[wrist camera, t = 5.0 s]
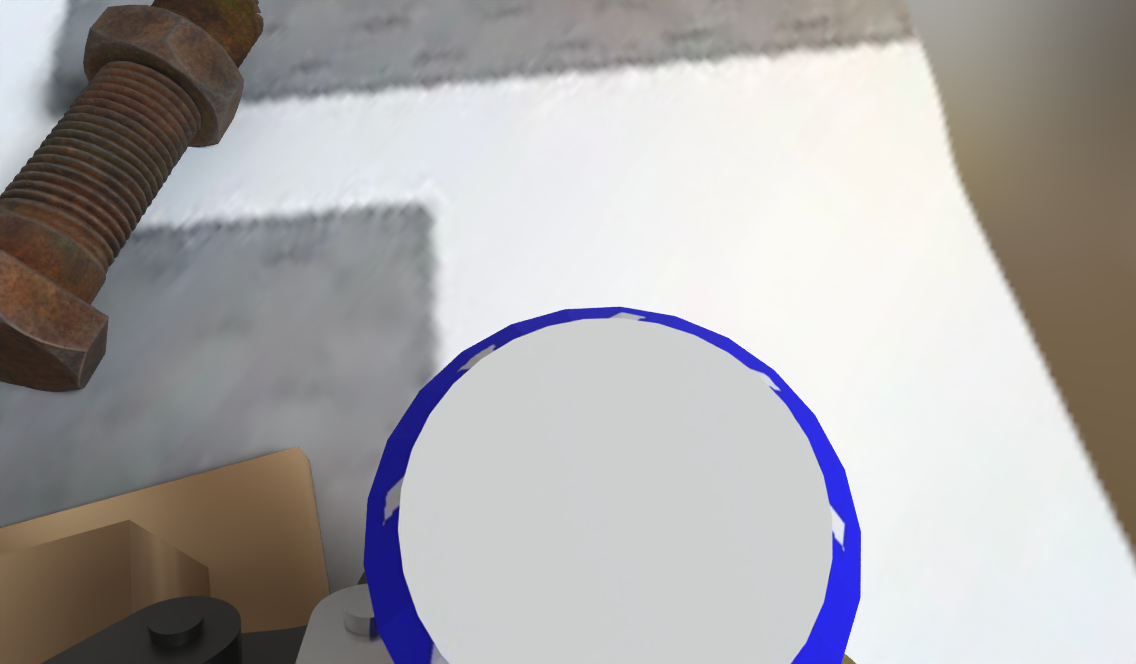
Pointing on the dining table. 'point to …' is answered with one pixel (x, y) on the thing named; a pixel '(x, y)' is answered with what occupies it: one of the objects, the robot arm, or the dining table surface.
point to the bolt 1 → (110, 174)
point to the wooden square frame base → (166, 556)
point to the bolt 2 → (611, 505)
